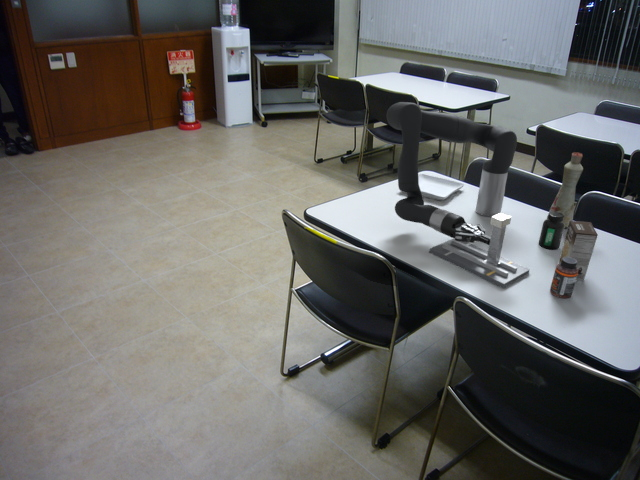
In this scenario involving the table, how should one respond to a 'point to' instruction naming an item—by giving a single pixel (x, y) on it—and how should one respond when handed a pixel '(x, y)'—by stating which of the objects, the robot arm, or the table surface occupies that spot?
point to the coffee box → (579, 245)
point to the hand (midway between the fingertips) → (491, 241)
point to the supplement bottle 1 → (552, 231)
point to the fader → (497, 238)
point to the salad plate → (437, 187)
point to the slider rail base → (479, 262)
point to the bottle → (568, 189)
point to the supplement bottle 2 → (564, 278)
